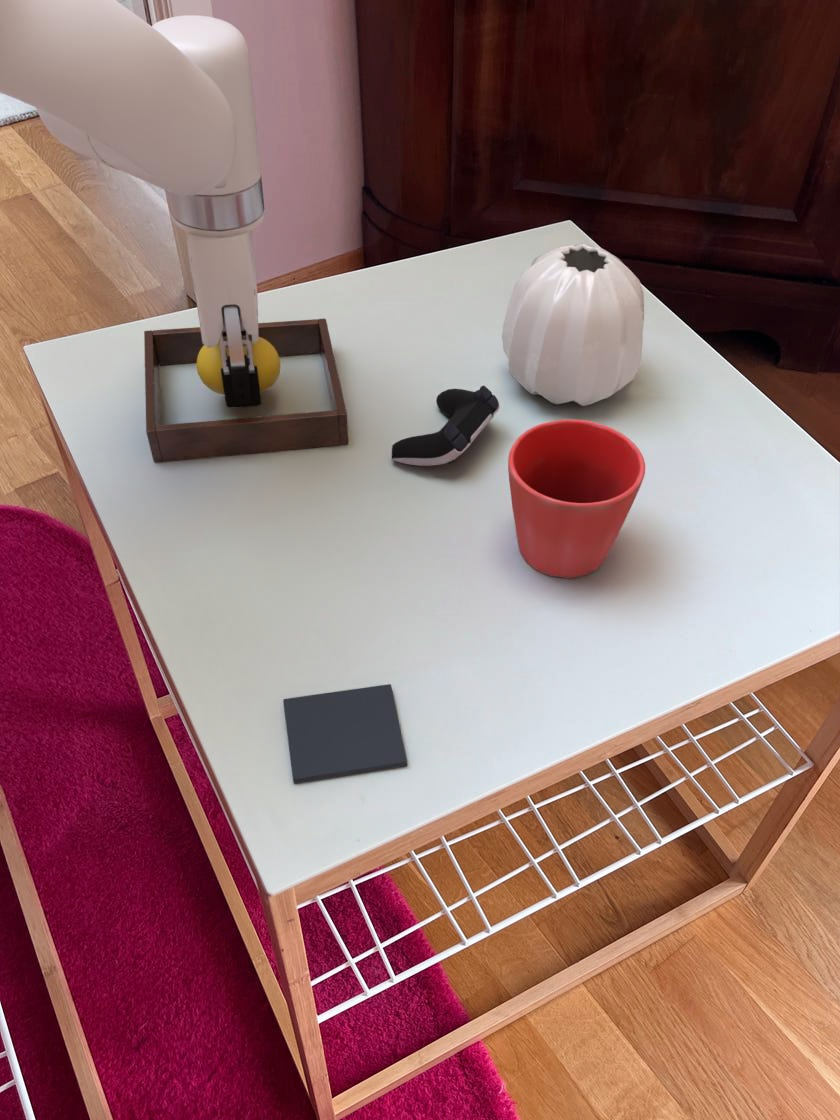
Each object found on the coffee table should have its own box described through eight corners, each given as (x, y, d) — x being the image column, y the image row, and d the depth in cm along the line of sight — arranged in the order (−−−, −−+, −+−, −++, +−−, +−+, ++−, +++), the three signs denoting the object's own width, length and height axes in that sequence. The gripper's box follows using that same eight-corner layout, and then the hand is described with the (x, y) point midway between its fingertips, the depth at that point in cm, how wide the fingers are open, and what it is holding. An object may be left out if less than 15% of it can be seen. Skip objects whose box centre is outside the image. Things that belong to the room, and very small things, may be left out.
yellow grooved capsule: (202, 408, 91) (193, 360, 87) (199, 375, 94) (191, 327, 90) (285, 402, 92) (280, 354, 88) (279, 369, 96) (275, 322, 92)
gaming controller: (412, 490, 91) (462, 468, 86) (382, 452, 90) (432, 428, 85) (464, 427, 98) (514, 403, 93) (438, 390, 96) (487, 364, 91)
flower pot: (488, 509, 87) (497, 420, 80) (607, 501, 89) (626, 413, 81) (510, 597, 81) (522, 509, 73) (638, 586, 82) (662, 500, 75)
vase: (541, 327, 106) (556, 206, 96) (656, 374, 102) (685, 253, 92) (472, 388, 98) (481, 264, 88) (593, 442, 94) (618, 318, 84)
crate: (153, 462, 88) (145, 431, 86) (150, 361, 98) (144, 330, 95) (348, 444, 92) (347, 414, 89) (327, 348, 101) (325, 318, 98)
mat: (293, 784, 68) (293, 779, 68) (283, 703, 72) (283, 698, 72) (407, 766, 70) (407, 761, 69) (390, 688, 74) (390, 683, 73)
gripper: (165, 151, 84) (197, 338, 98) (170, 253, 73) (205, 446, 87) (254, 149, 85) (273, 333, 99) (272, 248, 75) (290, 439, 88)
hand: (241, 384), depth 93 cm, fingers closed on yellow grooved capsule, 5 cm apart
